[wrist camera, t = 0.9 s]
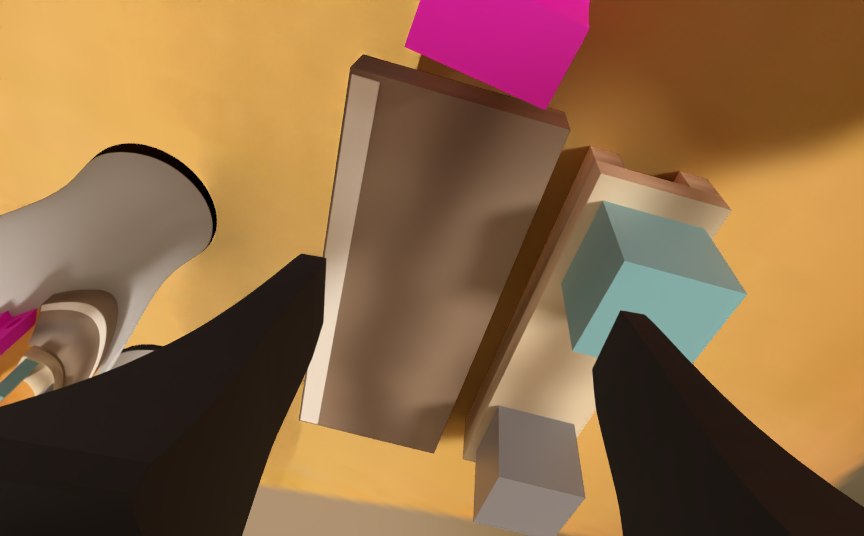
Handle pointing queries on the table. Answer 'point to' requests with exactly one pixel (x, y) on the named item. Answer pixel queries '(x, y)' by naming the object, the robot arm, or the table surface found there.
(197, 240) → the silver metal tumbler
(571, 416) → the tan tray
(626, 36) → the table surface
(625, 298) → the teal cube
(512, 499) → the grey cube
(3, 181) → the table surface
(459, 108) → the dock
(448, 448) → the table surface
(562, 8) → the pink pipe cradle
